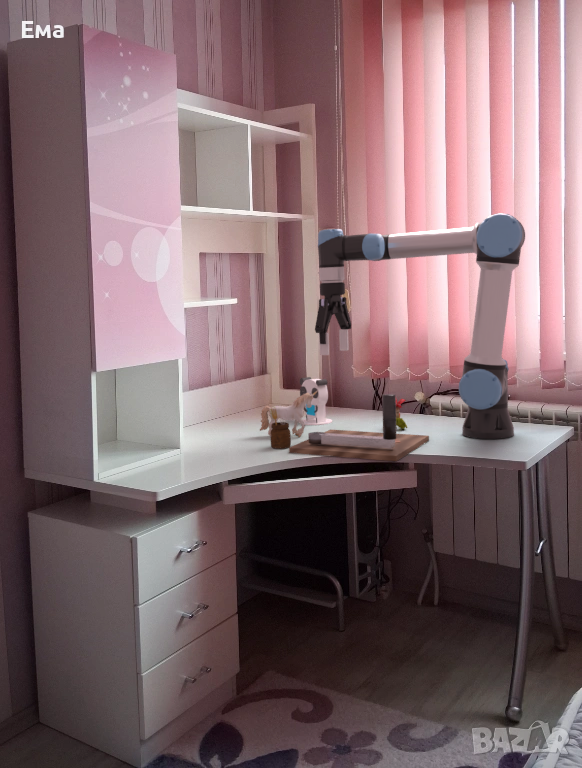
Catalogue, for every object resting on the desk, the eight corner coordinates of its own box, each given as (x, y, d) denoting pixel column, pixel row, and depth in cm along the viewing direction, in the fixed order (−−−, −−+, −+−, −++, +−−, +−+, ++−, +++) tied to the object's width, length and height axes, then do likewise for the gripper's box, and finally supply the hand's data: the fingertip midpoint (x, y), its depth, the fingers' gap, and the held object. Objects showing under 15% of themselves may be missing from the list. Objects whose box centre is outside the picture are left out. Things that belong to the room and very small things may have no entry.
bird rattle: (383, 434, 258) (390, 427, 250) (379, 401, 261) (386, 393, 253) (402, 433, 259) (410, 426, 251) (398, 400, 262) (405, 392, 254)
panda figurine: (291, 421, 275) (290, 378, 273) (318, 417, 281) (317, 375, 279) (311, 426, 265) (310, 381, 263) (339, 422, 271) (337, 378, 269)
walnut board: (428, 440, 236) (428, 435, 235) (396, 461, 211) (396, 455, 211) (330, 434, 250) (330, 428, 250) (289, 452, 226) (289, 446, 226)
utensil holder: (294, 445, 235) (293, 405, 233) (283, 450, 230) (281, 409, 228) (278, 444, 238) (276, 404, 237) (266, 448, 233) (264, 407, 231)
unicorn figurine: (324, 435, 248) (323, 393, 247) (262, 440, 245) (261, 397, 243) (319, 431, 255) (317, 390, 254) (259, 436, 252) (257, 394, 250)
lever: (305, 443, 227) (303, 393, 225) (313, 439, 231) (311, 390, 230) (392, 449, 215) (392, 396, 213) (399, 445, 219) (398, 393, 217)
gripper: (338, 281, 251) (341, 348, 254) (301, 283, 229) (304, 356, 232) (360, 280, 247) (362, 348, 250) (324, 282, 226) (327, 357, 228)
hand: (334, 352), depth 241 cm, fingers open, 13 cm apart
